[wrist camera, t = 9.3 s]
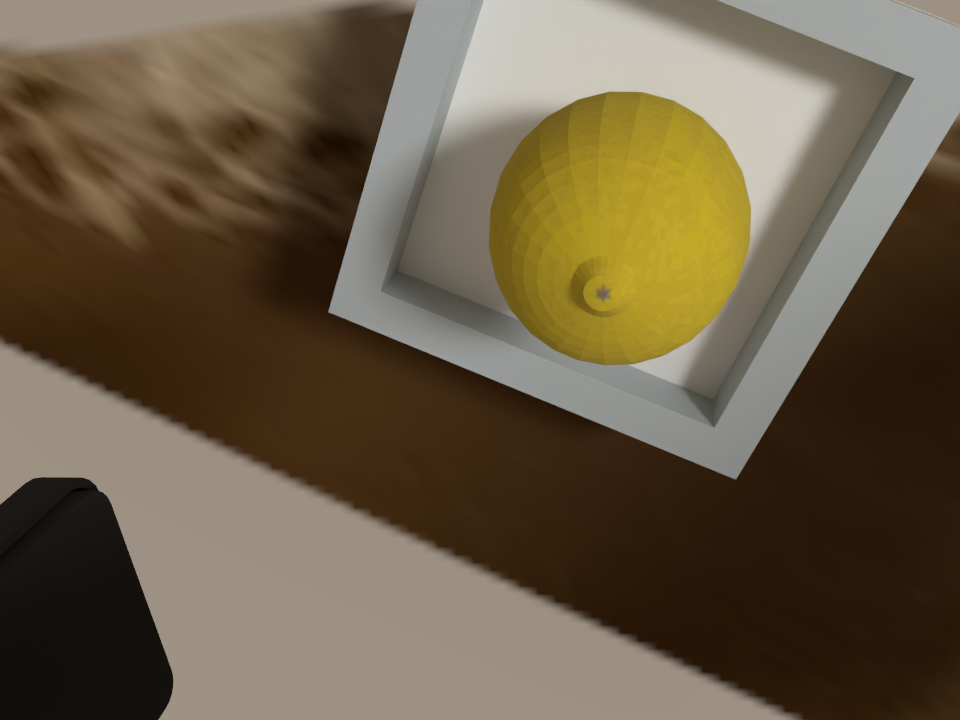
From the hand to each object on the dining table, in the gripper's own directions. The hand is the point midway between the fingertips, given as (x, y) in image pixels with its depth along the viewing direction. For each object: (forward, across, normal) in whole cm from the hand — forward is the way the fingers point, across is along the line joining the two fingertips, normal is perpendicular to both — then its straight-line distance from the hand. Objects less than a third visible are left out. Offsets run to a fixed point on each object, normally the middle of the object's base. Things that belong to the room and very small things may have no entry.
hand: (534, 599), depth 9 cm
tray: (+20, 0, 0) cm, 20 cm away
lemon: (+16, 0, 0) cm, 16 cm away
